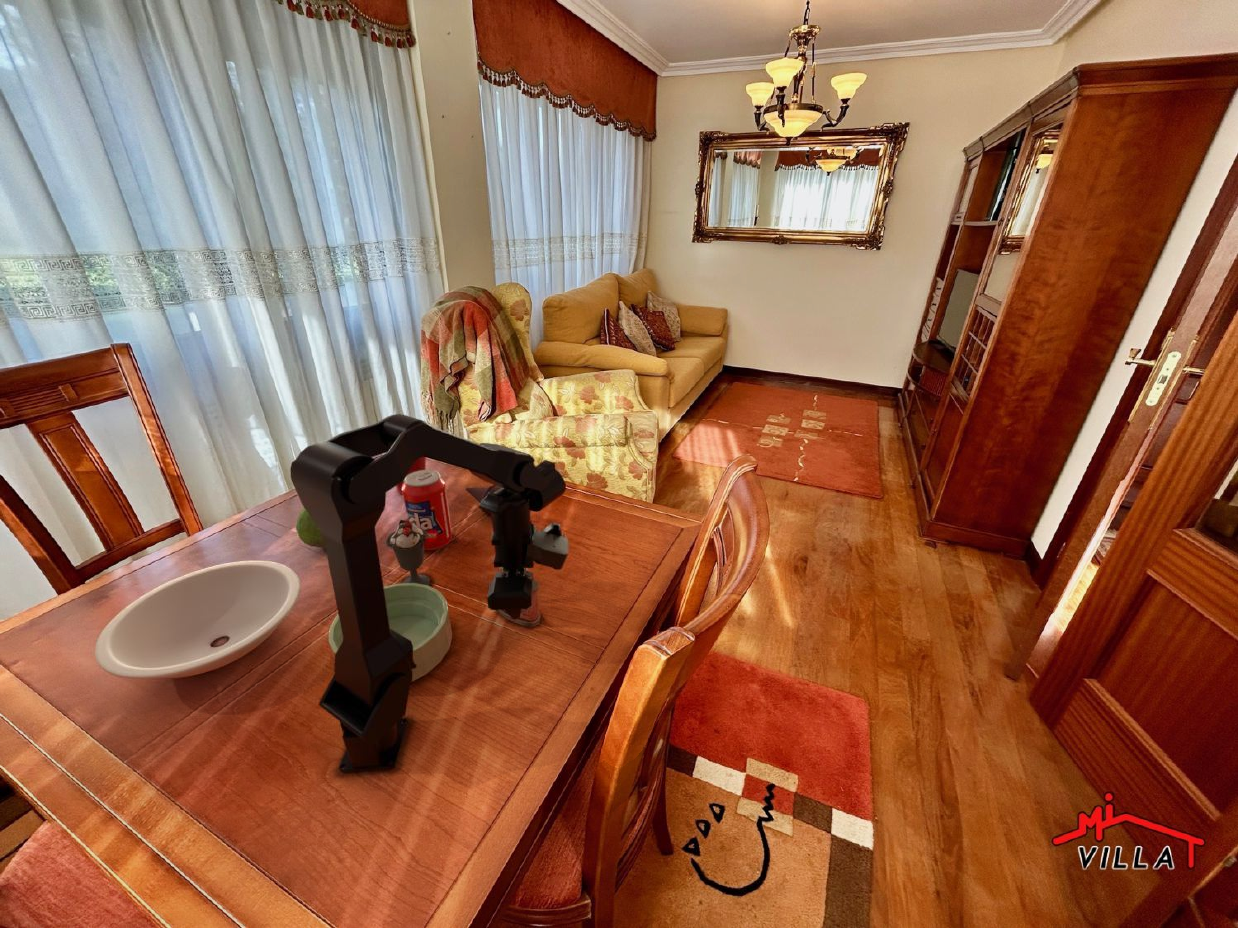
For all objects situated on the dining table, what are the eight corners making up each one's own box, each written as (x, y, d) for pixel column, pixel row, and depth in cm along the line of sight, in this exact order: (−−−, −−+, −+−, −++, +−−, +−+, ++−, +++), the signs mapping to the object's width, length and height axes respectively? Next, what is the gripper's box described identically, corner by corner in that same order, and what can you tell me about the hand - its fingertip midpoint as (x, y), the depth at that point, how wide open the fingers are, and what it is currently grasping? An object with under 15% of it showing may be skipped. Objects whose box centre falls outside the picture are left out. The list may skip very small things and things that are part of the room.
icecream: (452, 487, 109) (508, 510, 104) (473, 467, 114) (528, 487, 109) (459, 509, 114) (513, 532, 109) (479, 489, 118) (532, 509, 113)
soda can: (461, 537, 103) (452, 473, 97) (432, 558, 97) (420, 491, 90) (433, 527, 106) (423, 464, 100) (403, 546, 100) (390, 480, 93)
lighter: (493, 612, 84) (488, 565, 80) (506, 600, 87) (502, 554, 83) (532, 630, 81) (529, 581, 77) (544, 617, 84) (542, 569, 79)
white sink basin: (341, 624, 81) (332, 593, 78) (160, 744, 62) (139, 708, 59) (261, 573, 91) (250, 543, 89) (86, 662, 73) (65, 628, 70)
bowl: (439, 689, 71) (434, 659, 68) (318, 697, 69) (308, 666, 66) (460, 608, 85) (456, 581, 82) (361, 613, 83) (353, 585, 81)
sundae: (423, 599, 87) (409, 527, 80) (388, 593, 88) (372, 521, 81) (442, 575, 92) (431, 506, 86) (409, 570, 94) (396, 501, 87)
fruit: (348, 513, 110) (338, 473, 106) (386, 521, 108) (378, 481, 103) (289, 552, 97) (275, 508, 93) (331, 563, 95) (319, 518, 90)
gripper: (565, 560, 68) (566, 644, 75) (564, 492, 85) (566, 566, 92) (482, 563, 67) (491, 648, 74) (498, 494, 84) (504, 568, 91)
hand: (517, 603), depth 83 cm, fingers open, 7 cm apart
